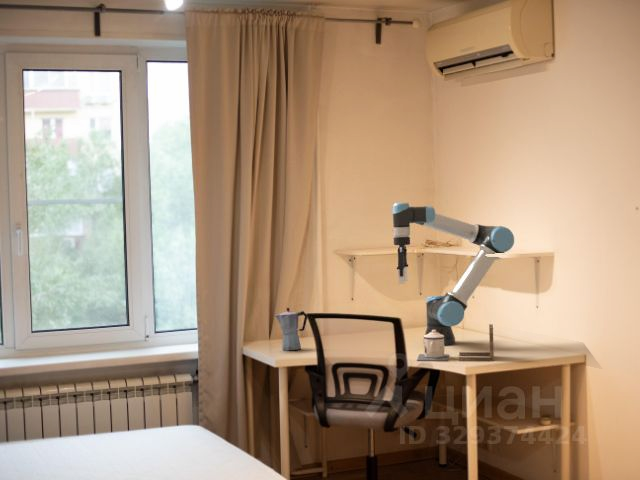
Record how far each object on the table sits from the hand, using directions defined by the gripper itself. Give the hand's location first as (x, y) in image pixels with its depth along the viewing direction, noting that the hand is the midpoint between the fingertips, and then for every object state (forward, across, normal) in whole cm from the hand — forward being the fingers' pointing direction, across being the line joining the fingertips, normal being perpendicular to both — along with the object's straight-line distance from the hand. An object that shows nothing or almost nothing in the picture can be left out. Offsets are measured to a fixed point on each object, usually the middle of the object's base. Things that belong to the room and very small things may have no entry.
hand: (403, 282), depth 396 cm
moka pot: (+32, -2, -54) cm, 63 cm away
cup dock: (+32, +20, +33) cm, 50 cm away
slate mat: (+32, +20, +14) cm, 40 cm away
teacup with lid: (+31, +20, +14) cm, 40 cm away
